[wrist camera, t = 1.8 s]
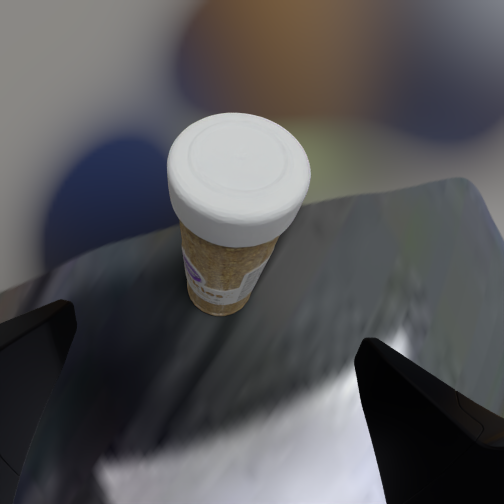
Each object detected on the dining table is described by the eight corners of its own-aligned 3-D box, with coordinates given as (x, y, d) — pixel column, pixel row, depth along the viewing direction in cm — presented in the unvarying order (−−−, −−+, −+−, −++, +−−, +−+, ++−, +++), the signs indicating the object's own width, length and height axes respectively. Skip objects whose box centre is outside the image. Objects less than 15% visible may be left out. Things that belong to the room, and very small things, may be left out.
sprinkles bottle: (174, 288, 20) (134, 157, 8) (216, 244, 22) (233, 92, 10) (224, 331, 19) (254, 252, 7) (265, 283, 21) (338, 157, 9)
